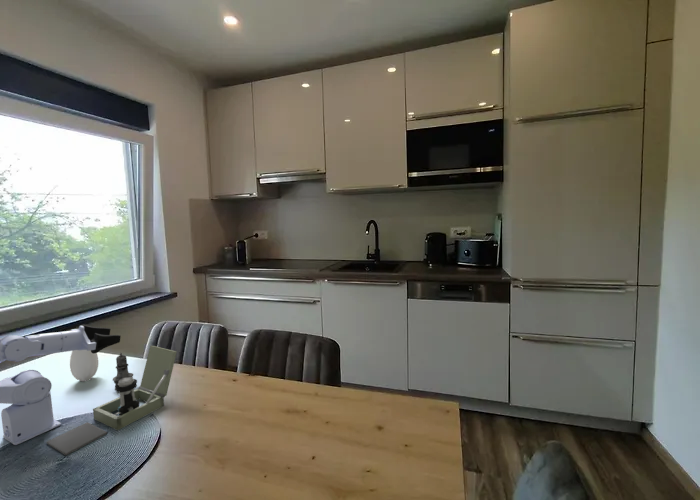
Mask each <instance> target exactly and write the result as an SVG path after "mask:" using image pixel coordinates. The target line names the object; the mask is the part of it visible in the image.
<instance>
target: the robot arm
mask: <svg viewBox="0 0 700 500" xmlns="http://www.w3.org/2000/svg"><path fill="white" fill-rule="evenodd" d="M121 338H122V337H121V335H119V334H111V328H109V327H100V326H99V327H98V326H91V325H88V324H81V325H79V326H78V328H74V329H70V330H66V331H65V330H64V331H58V332H57V331H56V332H55V331H54V332H47V333H38V334H31V335H30V334H29V335H25V336H22V335H17V334H14V335H13V334H12V335H11V334H10V335H5V336H3V337H1V338H0V364H1V363H4V362H5V361H9V362H16V363H17V362H21V361H23V360H26V359H27V358H28V357H29V358H30V357H36V356H45V355H52V354H59V353H64V352H65V353H66V352H72V351H74V350H87V351H90V350H91V352H92V353H93V354H94V353H97V354H98V353H99V352H101V351H102V350H104V349H106V348H107V347H110V346H113V345H117V344H119V343H120V342H121ZM52 386H53V385H52V381H51V380H50V379H49V378H48V377H45V376H44V375H42V374H41V372H40V371H38V370H35V369H26V370H23V371H20V372H19V373H17V374H15V375H13V376H9V377H6V378H3V379H1V380H0V404H6V405H7V404H8V405H9V404H10V405H9V406H7V407H5V408H3V409H2V410H1V413H0V414H1V417H0V418H1V424H2V430H3V431H2V432H3V435H2V438H3V439H5V440H6V441H8V442H10V443H11V444H12V445H14V446H17V445H20V444H22V443H25V442H26V441H28V440H31V439H33V438H35V437H37V436H39V435H42V434H45V433H46V432H48V431H50V430H52V429H54V428H57V427H60V426H61V425H62V424H61V422H60V421H58V420H56V419H55V418H54V412H53V403H52V394H51V390H52Z"/></svg>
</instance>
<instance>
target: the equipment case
mask: <svg viewBox="0 0 700 500" xmlns="http://www.w3.org/2000/svg"><path fill="white" fill-rule="evenodd" d="M176 357H177V350H173V349H168V348H163V347H159V346H156V345H150V346H149V349H148V354H147V357H146V362H145V366H144V370H143V373H142V377H141V381H140V384H139V386H138V387H137V388H136V389H134V395H135V399H136V400H135V401H139V400H140V401H143V402H145V403H142V405H139V407H137V408H135V409H133V410H131V411H129V412H127V413H125V414H123V415H121V416H119V417H118V415H116V414H115V415H114V414H113V412H115V411H118V407H120V405H121V402H120V396H119V397H117V398H114V399H112V400H110V401H108V402H105V403H103V404H101V405H99V406H96V407H94V408H92V412H93V420H94V421H97V422H99V423H101V424H104V425H105V426H108V427H110V428H112V429H114V430H116V431H119V430H121V429H123V428H125V427H127V426H128V425H130V424H132V423H134V422H136V421H138V420H140V419H142V418H144V417H146V416H148V415H149V414H152V413H153V412H155V411H157V410H160V409H161V408H163V407H164V406H165V400H164V398H165V397H167V395H168V390H169V387H170V382H171V379H172V378H171V377H172V374H173V369H174V367H175V366H174V365H175V361H176Z"/></svg>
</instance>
